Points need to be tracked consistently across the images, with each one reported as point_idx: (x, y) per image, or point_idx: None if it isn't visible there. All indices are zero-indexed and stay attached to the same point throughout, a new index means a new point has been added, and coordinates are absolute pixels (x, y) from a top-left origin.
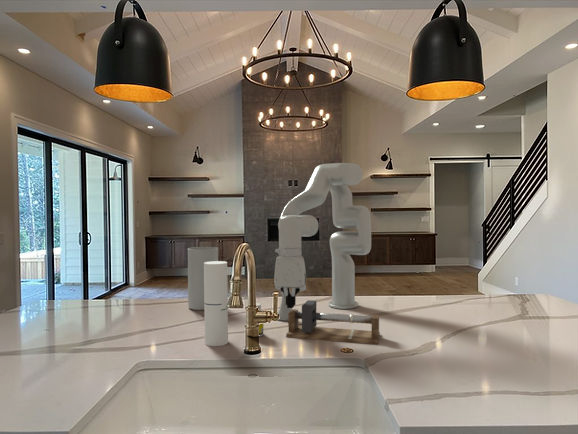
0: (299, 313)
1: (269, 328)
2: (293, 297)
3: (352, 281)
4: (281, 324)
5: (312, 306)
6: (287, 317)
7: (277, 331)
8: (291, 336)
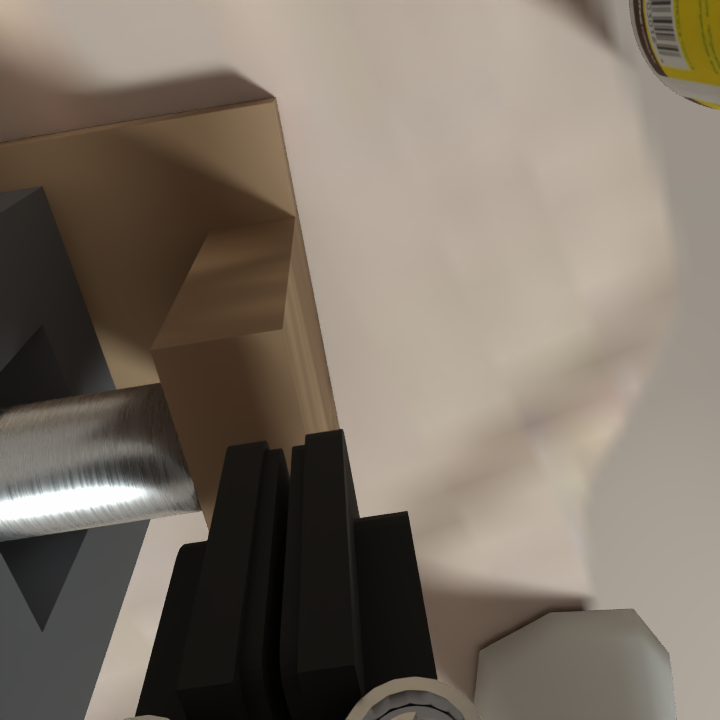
0: (100, 436)
1: (632, 338)
2: (161, 712)
3: None
4: (543, 515)
5: None
6: (533, 660)
7: (490, 269)
8: (199, 110)
